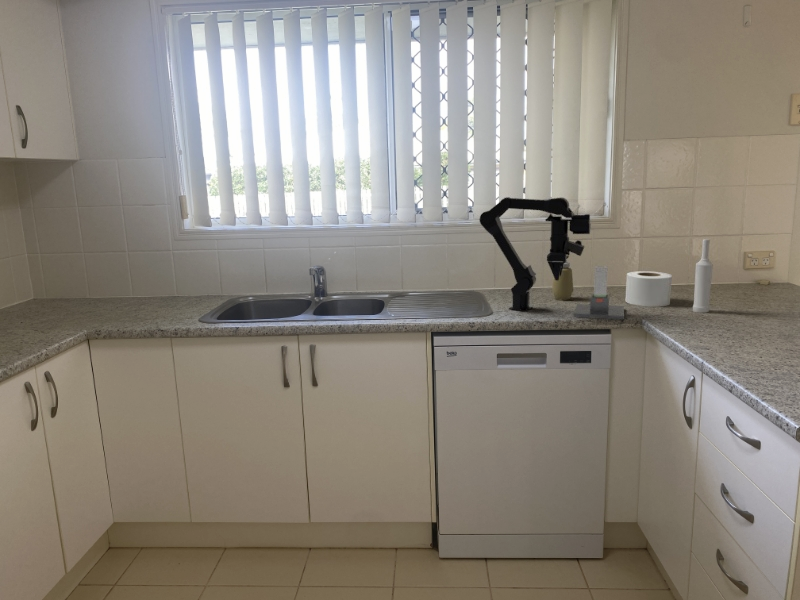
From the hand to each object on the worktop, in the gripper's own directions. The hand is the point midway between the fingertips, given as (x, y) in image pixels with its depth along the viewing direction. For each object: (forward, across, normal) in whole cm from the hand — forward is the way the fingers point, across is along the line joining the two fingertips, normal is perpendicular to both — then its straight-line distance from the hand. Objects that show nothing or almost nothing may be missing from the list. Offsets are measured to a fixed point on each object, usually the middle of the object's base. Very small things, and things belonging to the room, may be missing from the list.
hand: (558, 278), depth 205 cm
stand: (+12, 0, -14) cm, 19 cm away
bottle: (+12, +11, -47) cm, 50 cm away
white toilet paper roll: (+12, +22, -31) cm, 40 cm away
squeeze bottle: (+12, +22, 0) cm, 25 cm away
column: (+6, 0, -14) cm, 16 cm away
